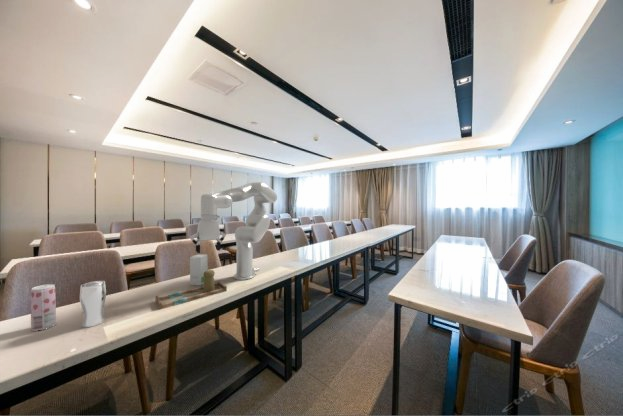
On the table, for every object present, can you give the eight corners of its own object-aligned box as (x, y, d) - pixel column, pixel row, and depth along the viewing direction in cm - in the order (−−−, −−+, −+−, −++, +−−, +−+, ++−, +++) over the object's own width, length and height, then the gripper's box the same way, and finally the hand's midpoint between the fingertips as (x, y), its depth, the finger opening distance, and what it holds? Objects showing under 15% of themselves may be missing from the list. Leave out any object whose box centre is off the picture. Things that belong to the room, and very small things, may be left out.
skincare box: (200, 285, 119) (200, 257, 119) (188, 285, 119) (188, 257, 119) (208, 280, 128) (208, 254, 127) (197, 279, 128) (197, 253, 127)
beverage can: (53, 321, 82) (53, 282, 82) (57, 325, 79) (57, 285, 79) (29, 328, 77) (28, 287, 77) (32, 333, 74) (32, 291, 74)
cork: (200, 291, 111) (200, 270, 111) (212, 288, 116) (212, 268, 115) (205, 295, 107) (205, 273, 107) (217, 291, 111) (217, 270, 111)
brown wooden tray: (218, 285, 120) (219, 281, 120) (226, 291, 112) (226, 286, 112) (155, 301, 100) (155, 296, 100) (159, 309, 92) (159, 303, 92)
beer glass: (83, 330, 77) (82, 288, 76) (77, 324, 80) (77, 284, 80) (109, 321, 83) (108, 282, 82) (102, 316, 86) (102, 279, 86)
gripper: (223, 217, 119) (222, 248, 119) (188, 218, 107) (187, 252, 107) (228, 218, 114) (228, 250, 114) (192, 219, 102) (192, 255, 102)
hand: (208, 251), depth 110 cm, fingers open, 9 cm apart
